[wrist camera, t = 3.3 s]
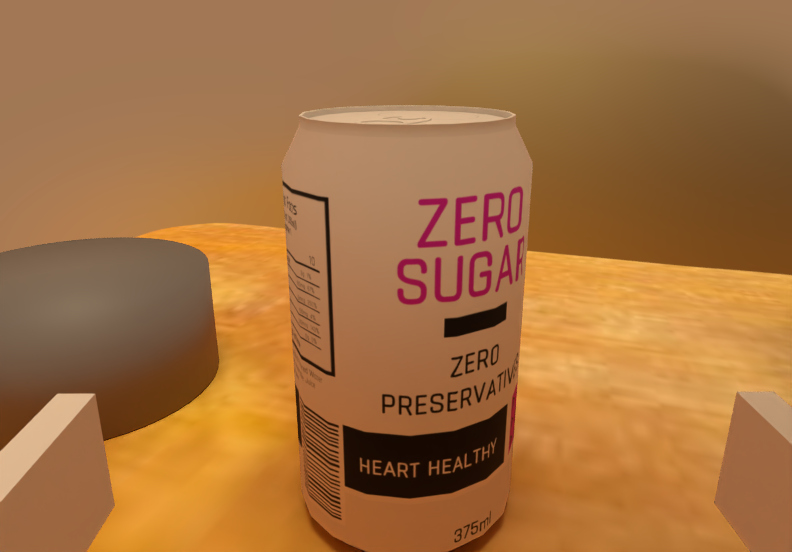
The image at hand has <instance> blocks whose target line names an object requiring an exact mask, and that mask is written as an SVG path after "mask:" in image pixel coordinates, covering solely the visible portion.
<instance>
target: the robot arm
mask: <svg viewBox="0 0 792 552" xmlns="http://www.w3.org/2000/svg"><path fill="white" fill-rule="evenodd" d="M714 503H715V504H716V506H717V507H718V509H719V510H720V511H721V513H722V514H723V515H724V517H725V518H726V519H727V521H728V522H729V524H730V525H731V526H732V528H733V529H734V530H735V532H736V533H737V534H738V536H739V537H740V539H741V540H742V541H743V543H744V544H745V545H746V547H747V548H748V549H749V551H750V552H792V407H791V406H790V405H789V404H787V403H786V402H785V401H784V400H783V399H782V398H780V397H779V396H778V395H777V394H776V393H775V392H737V394H736V399H735V404H734V408H733V413H732V418H731V423H730V428H729V433H728V438H727V443H726V447H725V452H724V457H723V462H722V467H721V472H720V477H719V482H718V487H717V491H716V496H715V501H714ZM114 506H115V505H114V499H113V493H112V487H111V482H110V476H109V470H108V464H107V459H106V453H105V447H104V441H103V436H102V430H101V424H100V418H99V412H98V407H97V401H96V395H95V394H57V395H56V396H55V397H54V398H53V399H52V400H51V401H50V402H49V403H48V404H47V405H46V406H45V407H44V408H43V409H42V410H41V411H40V412H39V413H38V414H37V415H36V416H35V417H34V418H33V419H32V420H31V421H30V422H29V423H28V424H27V425H26V426H25V427H24V428H23V429H22V430H21V431H20V432H19V433H18V434H17V435H16V436H15V437H14V438H13V439H12V440H11V441H10V442H9V443H8V444H7V445H6V446H5V447H4V448H3V449H2V450H1V451H0V552H87V550H88V548H89V547H90V545H91V543H92V542H93V540H94V539H95V537H96V535H97V534H98V532H99V530H100V529H101V527H102V525H103V524H104V522H105V521H106V519H107V517H108V516H109V514H110V512H111V511H112V509H113V507H114Z"/></svg>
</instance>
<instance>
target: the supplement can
mask: <svg viewBox="0 0 792 552" xmlns="http://www.w3.org/2000/svg"><path fill="white" fill-rule="evenodd" d="M532 166H533V163H532V160H531V158H530V156H529V154H528V152H527V149H526V147H525V145H524V143H523V140H522V138H521V136H520V134H519V132H518V129H517V127H516V115H515V114H513V113H511V112H509V111H502V110H495V109H487V108H474V107H456V106H418V105H417V106H416V105H413V106H412V105H394V106H358V107H340V108H330V109H319V110H313V111H308V112H303V113H302V114H300V115H299V127H298V129H297V131H296V134H295V136H294V138H293V140H292V142H291V145H290V147H289V149H288V151H287V154H286V156H285V158H284V160H283V162H282V180H283V195H284V212H285V229H286V245H287V261H288V277H289V293H290V309H291V325H292V342H293V358H294V374H295V390H296V406H297V422H298V438H299V454H300V471H301V487H302V494H303V497H304V499H305V502H306V505H307V507H308V510H309V513H310V516H311V517H312V518H314V519H315V520H316V521H317V522H318V523H319V524H320V525H321V526H322V527H323V528H324V529H325V530H326V531H327V532H328V533H330V534H331V535H332V536H333V537H335V538H337V539H339V540H342V541H343V542H344V543H346V544H348V545H351V546H353V547H355V548H358V549H360V550H362V551H365V552H449V551H451V550H453V549H455V548H457V547H460V546H462V545H464V544H466V543H468V542H470V541H471V540H473V539H476V538H478V537H480V536H482V535H483V534H484V533H485V532H486V531H487V530H488V529H489V528H490V527H491V526H492V525H493V524H494V523H495V522H496V521H497V520H498V519H499V518H500V516H501V515H502V514H503V513H504V509H505V506H506V502H507V498H508V494H509V491H510V480H511V466H512V452H513V437H514V423H515V409H516V395H517V381H518V367H519V352H520V338H521V324H522V310H523V296H524V281H525V267H526V253H527V238H528V224H529V210H530V195H531V182H532V168H533V167H532Z"/></svg>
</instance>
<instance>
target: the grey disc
mask: <svg viewBox="0 0 792 552" xmlns="http://www.w3.org/2000/svg"><path fill="white" fill-rule="evenodd" d="M218 365H219V357H218V348H217V338H216V329H215V319H214V310H213V300H212V291H211V282H210V272H209V263H208V258H207V257H206V255H205V254H204V253H203V252H201V251H200V250H198V249H196V248H194V247H192V246H189V245H186V244H182V243H178V242H174V241H168V240H160V239H151V238H98V239H97V238H96V239H83V240H72V241H64V242H56V243H49V244H42V245H36V246H31V247H25V248H20V249H15V250H10V251H6V252H2V253H0V451H1V450H2V449H3V448H4V447H5V446H6V445H7V444H8V443H9V442H10V441H11V440H12V439H13V438H14V437H15V436H16V435H17V434H18V433H19V432H20V431H21V430H22V429H23V428H24V427H25V426H26V425H27V424H28V423H29V422H30V421H31V420H32V419H33V418H34V417H35V416H36V415H37V414H38V413H39V412H40V411H41V410H42V409H43V408H44V407H45V406H46V405H47V404H48V403H49V402H50V401H51V400H52V399H53V398H54V397H55V396H56V395H57V394H95V395H96V401H97V407H98V412H99V418H100V424H101V430H102V436H103V440H106V439H109V438H113V437H116V436H119V435H122V434H126V433H128V432H131V431H134V430H136V429H139V428H142V427H144V426H147V425H149V424H151V423H153V422H155V421H158V420H160V419H162V418H164V417H166V416H168V415H169V414H171V413H173V412H175V411H177V410H179V409H180V408H182V407H183V406H185V405H186V404H188V403H189V402H191V401H192V400H193V399H194V398H196V397H197V396H198V395H199V394H200V393H202V392H203V390H204V389H205V388H206V387H207V386H208V385H209V384H210V383H211V381H212V380H213V378H214V377H215V375H216V372H217V370H218Z"/></svg>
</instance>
